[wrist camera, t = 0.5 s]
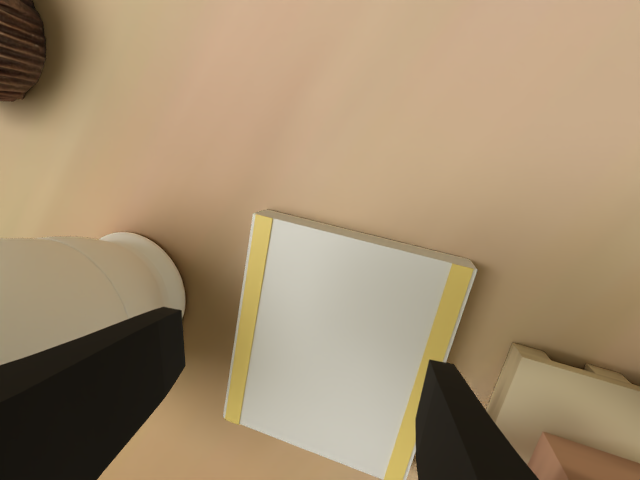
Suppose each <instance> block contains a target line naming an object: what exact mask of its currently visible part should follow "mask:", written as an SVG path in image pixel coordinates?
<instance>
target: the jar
mask: <svg viewBox="0 0 640 480" xmlns="http://www.w3.org/2000/svg"><path fill="white" fill-rule="evenodd" d="M161 307H168V308H173V309H178V310H182V318H183V315H184V311H185V290H184V285H183V282H182V279H181V276H180V274H179V271H178V269H177V268H176V266H175V264H174V263H173V261H172V260H171V258H170V257H169V256H168V255H167V254H166V252H165V251H164V250H163V249H162V248H160V247H159V246H158V245H157V244H156V243H154V242H153V241H151V240H149V239H148V238H146V237H143V236H141V235H138V234H135V233H130V232H116V233H111V234H108V235H106V236H104V237H102V238H100V239H94V238H88V237H78V236H54V237H41V238H0V365H2V364H5V363H9V362H12V361H15V360H18V359H21V358H24V357H27V356H30V355H33V354H36V353H38V352H41V351H44V350H47V349H50V348H52V347H55V346H58V345H61V344H64V343H66V342H69V341H72V340H75V339H78V338H80V337H83V336H85V335H88V334H91V333H93V332H96V331H98V330H101V329H103V328H106V327H109V326H111V325H114V324H116V323H119V322H122V321H124V320H127V319H129V318H132V317H135V316H137V315H140V314H143V313H145V312H148V311H151V310H154V309H157V308H161Z"/></svg>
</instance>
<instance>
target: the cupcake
mask: <svg viewBox="0 0 640 480" xmlns="http://www.w3.org/2000/svg"><path fill="white" fill-rule="evenodd" d="M45 43H46V39H45V36H44V28H43V22H42V20H41V18H40V16H39V13H38V12H37V11H36V10H35V7H34V4H33V1H32V0H0V101H15V100H16V99H23V98H24V96H25V94H26V92H27V91H28V90H29V89H30V88H31V87H33V86H34V85H35V84H36V83H37V82H38V80H39V78H40V75H41V71H42V69H43V68H44V62H45V59H46V55H45V54H46V46H45Z"/></svg>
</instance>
